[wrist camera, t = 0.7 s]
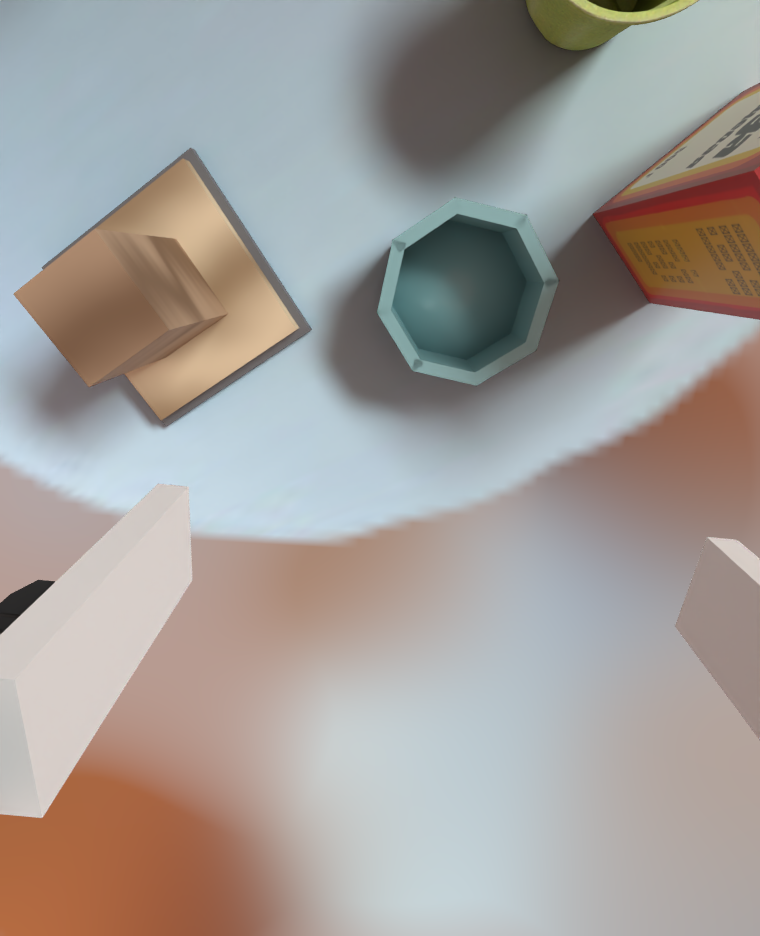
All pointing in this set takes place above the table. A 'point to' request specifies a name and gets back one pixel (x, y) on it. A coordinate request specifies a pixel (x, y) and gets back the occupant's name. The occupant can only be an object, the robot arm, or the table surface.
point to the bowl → (467, 291)
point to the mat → (257, 256)
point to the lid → (159, 296)
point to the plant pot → (596, 18)
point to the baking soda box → (697, 217)
